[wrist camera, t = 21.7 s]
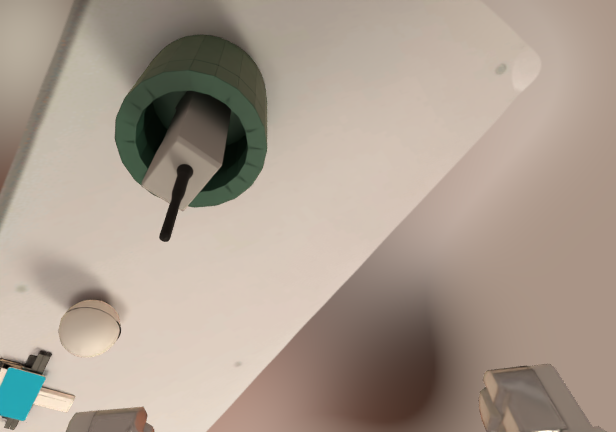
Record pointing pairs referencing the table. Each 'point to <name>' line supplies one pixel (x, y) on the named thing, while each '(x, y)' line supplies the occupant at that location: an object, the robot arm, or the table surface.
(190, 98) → the vintage mobile phone
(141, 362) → the table surface
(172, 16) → the table surface
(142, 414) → the robot arm
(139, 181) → the green hollow cylinder
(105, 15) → the table surface
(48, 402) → the phone stand
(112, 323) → the cream domed seamed part
